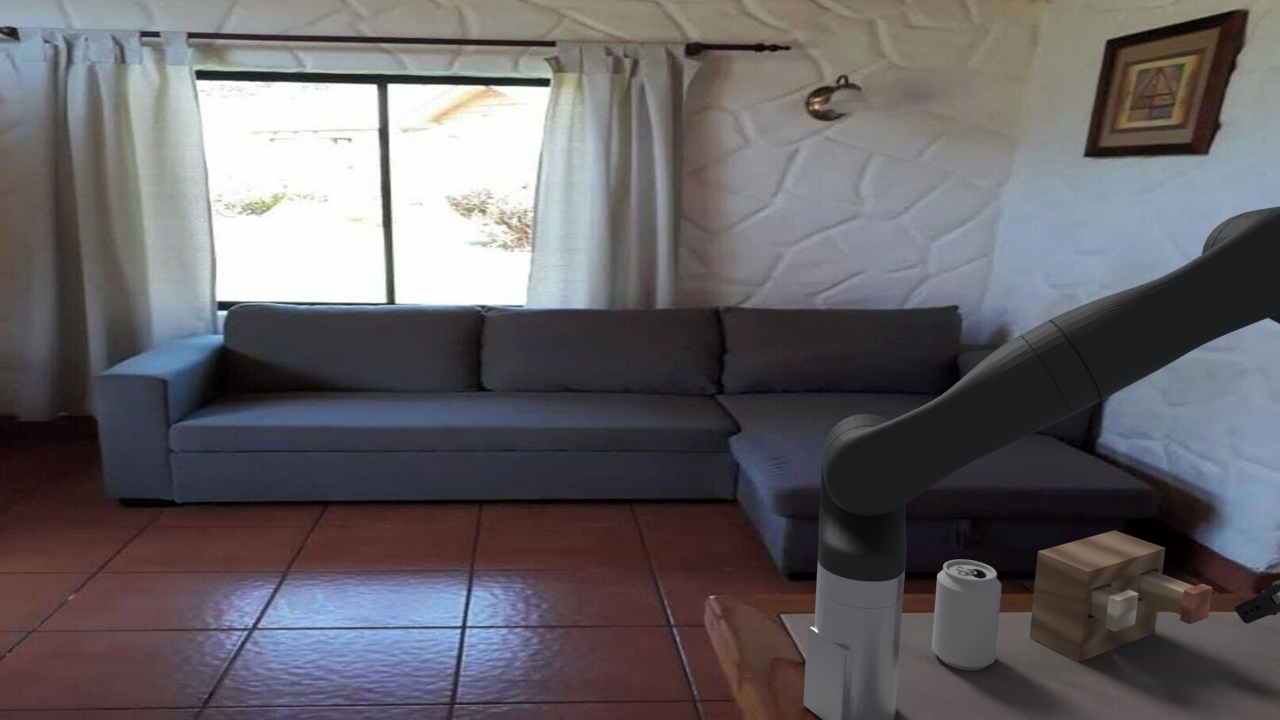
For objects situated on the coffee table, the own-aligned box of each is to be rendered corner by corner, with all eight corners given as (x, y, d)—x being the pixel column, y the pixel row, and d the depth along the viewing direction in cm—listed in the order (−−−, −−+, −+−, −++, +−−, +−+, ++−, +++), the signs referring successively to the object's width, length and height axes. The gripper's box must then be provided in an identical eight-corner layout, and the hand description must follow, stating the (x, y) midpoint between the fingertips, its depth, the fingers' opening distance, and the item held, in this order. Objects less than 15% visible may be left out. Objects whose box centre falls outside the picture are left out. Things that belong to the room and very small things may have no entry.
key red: (1189, 624, 106) (1194, 594, 105) (1118, 594, 114) (1121, 566, 113) (1208, 617, 108) (1212, 587, 107) (1136, 588, 116) (1139, 560, 115)
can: (1000, 677, 104) (1008, 583, 102) (935, 670, 106) (942, 577, 103) (988, 646, 111) (996, 558, 109) (927, 640, 113) (934, 553, 111)
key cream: (1114, 631, 104) (1118, 600, 104) (1046, 600, 112) (1050, 571, 111) (1134, 624, 106) (1138, 593, 105) (1066, 594, 114) (1069, 565, 113)
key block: (1078, 662, 108) (1088, 571, 106) (1029, 637, 114) (1037, 551, 112) (1154, 633, 115) (1165, 548, 113) (1105, 611, 121) (1114, 530, 119)
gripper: (1387, 511, 95) (1251, 574, 108) (1326, 532, 89) (1189, 596, 101) (1441, 574, 91) (1293, 632, 104) (1381, 601, 85) (1232, 659, 98)
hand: (1242, 614), depth 103 cm, fingers closed
